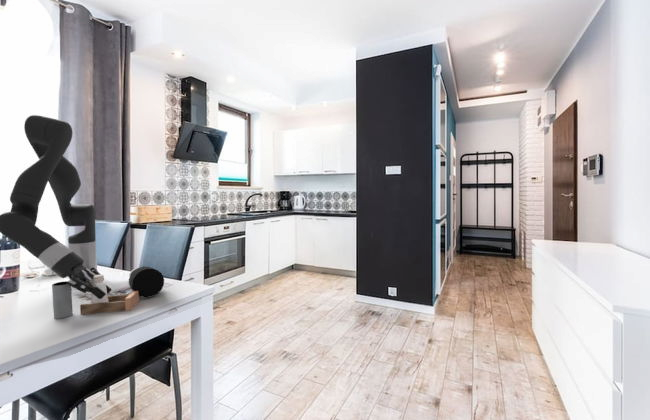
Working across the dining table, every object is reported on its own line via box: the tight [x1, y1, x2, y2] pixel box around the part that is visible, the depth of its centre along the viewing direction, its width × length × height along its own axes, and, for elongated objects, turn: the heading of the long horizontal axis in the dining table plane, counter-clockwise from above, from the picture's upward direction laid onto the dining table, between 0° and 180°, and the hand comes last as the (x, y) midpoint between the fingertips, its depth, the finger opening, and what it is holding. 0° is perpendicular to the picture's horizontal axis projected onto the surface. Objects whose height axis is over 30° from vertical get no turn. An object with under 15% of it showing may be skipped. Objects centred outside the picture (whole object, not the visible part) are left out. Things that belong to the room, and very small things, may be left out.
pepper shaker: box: [90, 274, 109, 304], centre depth 104 cm, size 5×5×11 cm
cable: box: [128, 266, 165, 298], centre depth 127 cm, size 10×34×10 cm, turn 36°
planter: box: [51, 280, 74, 320], centre depth 99 cm, size 4×4×10 cm
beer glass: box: [43, 264, 57, 277], centre depth 150 cm, size 7×7×15 cm
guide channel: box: [79, 290, 140, 315], centre depth 105 cm, size 14×8×4 cm, turn 103°
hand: (106, 294), depth 105 cm, fingers closed on pepper shaker, 4 cm apart
